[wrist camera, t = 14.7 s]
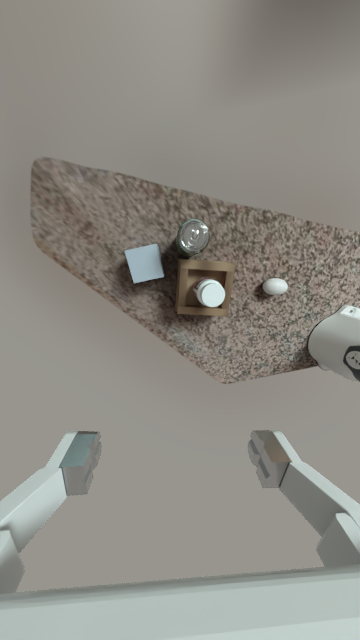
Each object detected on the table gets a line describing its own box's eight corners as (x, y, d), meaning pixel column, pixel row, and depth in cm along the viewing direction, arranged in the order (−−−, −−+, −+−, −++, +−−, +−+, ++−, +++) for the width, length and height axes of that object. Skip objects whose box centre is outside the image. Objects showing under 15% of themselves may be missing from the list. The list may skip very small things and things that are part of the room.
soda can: (202, 237, 37) (216, 225, 25) (193, 260, 38) (203, 258, 27) (180, 227, 36) (184, 211, 24) (172, 252, 37) (173, 246, 26)
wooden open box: (226, 262, 39) (237, 262, 32) (219, 309, 42) (228, 317, 36) (178, 259, 38) (179, 258, 32) (175, 307, 41) (176, 314, 35)
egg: (279, 294, 42) (290, 297, 38) (256, 292, 41) (264, 295, 38) (284, 278, 41) (295, 280, 37) (260, 276, 40) (269, 277, 36)
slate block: (158, 247, 37) (156, 243, 31) (164, 274, 39) (163, 276, 33) (131, 252, 37) (124, 250, 31) (139, 280, 39) (133, 283, 33)
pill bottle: (214, 299, 37) (226, 309, 29) (192, 299, 37) (198, 309, 29) (216, 277, 36) (229, 281, 28) (193, 276, 35) (200, 280, 27)
